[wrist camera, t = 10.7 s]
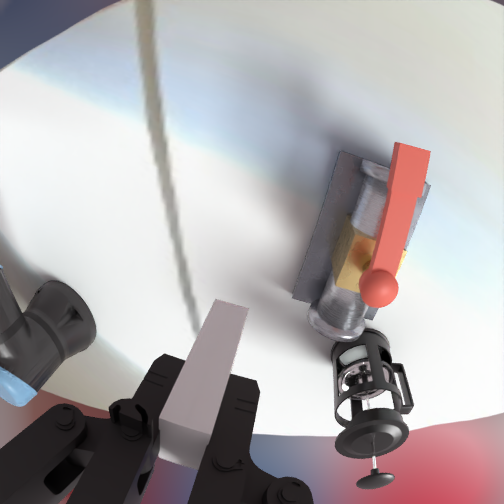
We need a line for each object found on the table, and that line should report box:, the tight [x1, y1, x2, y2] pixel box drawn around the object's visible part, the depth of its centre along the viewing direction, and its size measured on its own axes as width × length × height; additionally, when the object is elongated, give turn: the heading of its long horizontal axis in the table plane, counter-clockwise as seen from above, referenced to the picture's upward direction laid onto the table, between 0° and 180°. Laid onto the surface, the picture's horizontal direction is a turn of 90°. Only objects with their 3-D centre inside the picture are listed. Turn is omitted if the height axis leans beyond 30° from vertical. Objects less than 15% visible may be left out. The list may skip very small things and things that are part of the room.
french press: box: [331, 329, 414, 489], centre depth 34 cm, size 12×9×23 cm
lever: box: [359, 142, 431, 308], centre depth 25 cm, size 15×4×2 cm, turn 173°
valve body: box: [292, 151, 431, 342], centre depth 33 cm, size 20×12×10 cm, turn 166°
